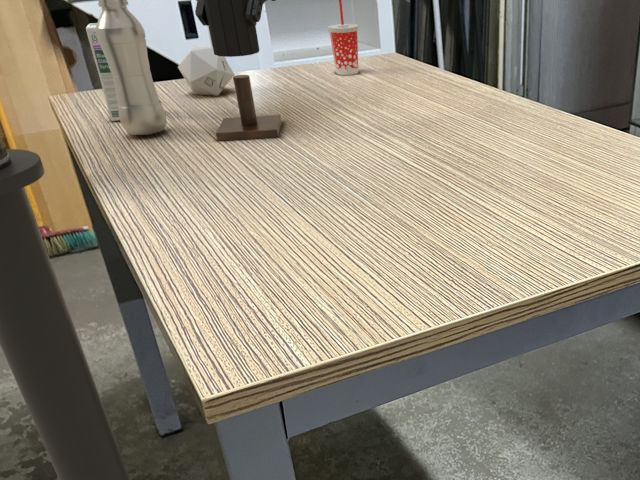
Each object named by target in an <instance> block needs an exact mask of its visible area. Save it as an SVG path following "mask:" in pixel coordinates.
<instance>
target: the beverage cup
mask: <svg viewBox="0 0 640 480" xmlns="http://www.w3.org/2000/svg"><path fill="white" fill-rule="evenodd" d="M338 2H339V14H340V23H339V24H338V23H337V24H331V25H328V26H327V29H328V30H327V31H328V32H329V38H330V43H331V49H332V56H333V61H334V68H335V72H336V75H339V76H350V75H351V76H352V75H357V74H359V49H358V48H359V47H358V46H359V44H358V31H359V25H358V24H355V23H344V22H345V21H344V12H343V4H342V0H338Z"/></svg>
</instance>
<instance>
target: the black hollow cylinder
mask: <svg viewBox="0 0 640 480" xmlns="http://www.w3.org/2000/svg"><path fill="white" fill-rule="evenodd" d="M247 2H248V0H204V5H205V10H206V15H207V20H208V30H209V35H210V41H211V45H212V46H211V47H213V51H214V55H217V56H223V57H225V58H233V57H246V56H252V55H255V54H259V53H260V45H259V38H258V33H257V32H258V31H257V27H256V26H257V25H256V26H250V25H249V23H248V22H247V20H246V18H245V13H246V8H247Z"/></svg>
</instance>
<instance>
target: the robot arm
mask: <svg viewBox="0 0 640 480" xmlns="http://www.w3.org/2000/svg"><path fill="white" fill-rule="evenodd" d="M195 1H196V6H195V10H194V13H195V16H196V18H197V19H198V21H199V22H200V23H201V25H202V26H206V27H207V26H208V27H209V25H208V20H207V15H206V10H205V5H204V0H195ZM266 1H267V0H248V2H247V8H246V13H245V18H246V20H247V22H248V23H249V25H250V26H257V23H259V22H260V20H261V17H262V12H263V6H264V4H265V3H266ZM270 1H272V2H275V1H276V0H270ZM7 149H8V148H7V146H6V144H5V141H4V139H3V136H2V133H1V132H0V169H2V168H4V167H6V166H8V165H9V164H10V163H11V158H10V155H9V153H8V152H7Z"/></svg>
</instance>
